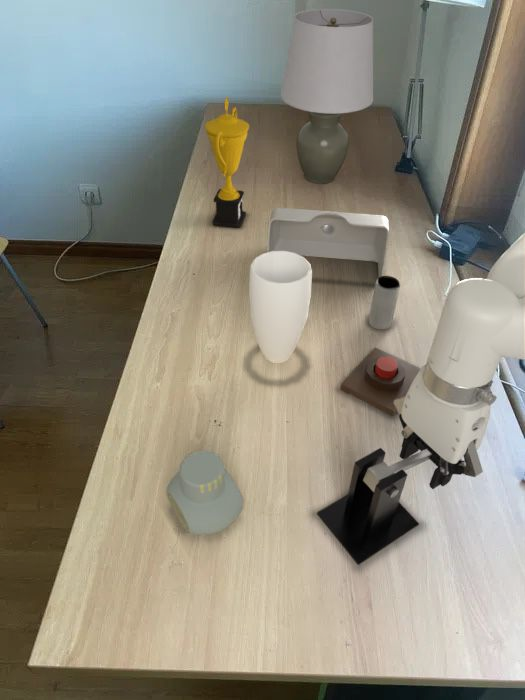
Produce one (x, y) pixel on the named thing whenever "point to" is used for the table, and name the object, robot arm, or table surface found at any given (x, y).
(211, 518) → the air freshener
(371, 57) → the lamp
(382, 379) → the button block
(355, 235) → the tank
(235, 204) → the trophy
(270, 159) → the table surface
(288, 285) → the cup
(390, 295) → the grey cylinder
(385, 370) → the button
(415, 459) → the lever
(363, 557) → the black stand
